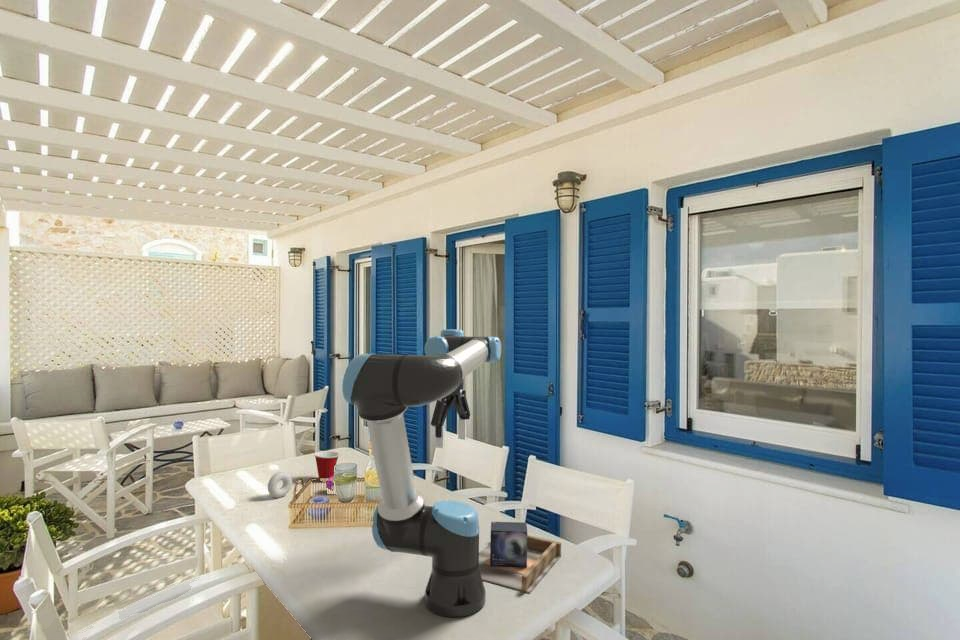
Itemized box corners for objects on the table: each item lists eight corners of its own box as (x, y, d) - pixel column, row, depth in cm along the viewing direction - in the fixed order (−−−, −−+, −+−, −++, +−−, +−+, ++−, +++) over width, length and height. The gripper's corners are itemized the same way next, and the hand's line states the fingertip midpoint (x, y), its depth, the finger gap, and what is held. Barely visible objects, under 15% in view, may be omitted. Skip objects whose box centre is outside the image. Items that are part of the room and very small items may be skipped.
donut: (288, 493, 204) (289, 468, 204) (293, 494, 202) (294, 469, 202) (265, 499, 196) (266, 474, 196) (270, 501, 194) (270, 475, 194)
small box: (489, 567, 141) (490, 529, 141) (490, 556, 147) (490, 520, 147) (527, 568, 140) (527, 530, 140) (526, 557, 147) (526, 521, 147)
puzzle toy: (326, 494, 202) (326, 480, 202) (330, 490, 208) (330, 476, 208) (340, 495, 202) (340, 481, 202) (344, 490, 208) (344, 476, 208)
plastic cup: (339, 483, 217) (340, 455, 217) (313, 485, 214) (313, 457, 214) (339, 475, 228) (339, 449, 228) (314, 477, 225) (314, 450, 225)
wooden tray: (529, 593, 128) (529, 578, 128) (456, 572, 139) (456, 558, 139) (561, 556, 149) (561, 542, 149) (495, 540, 160) (495, 528, 160)
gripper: (461, 373, 174) (461, 434, 174) (419, 380, 152) (419, 449, 152) (480, 374, 170) (480, 437, 170) (440, 381, 149) (439, 453, 148)
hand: (451, 443), depth 161 cm, fingers open, 13 cm apart
